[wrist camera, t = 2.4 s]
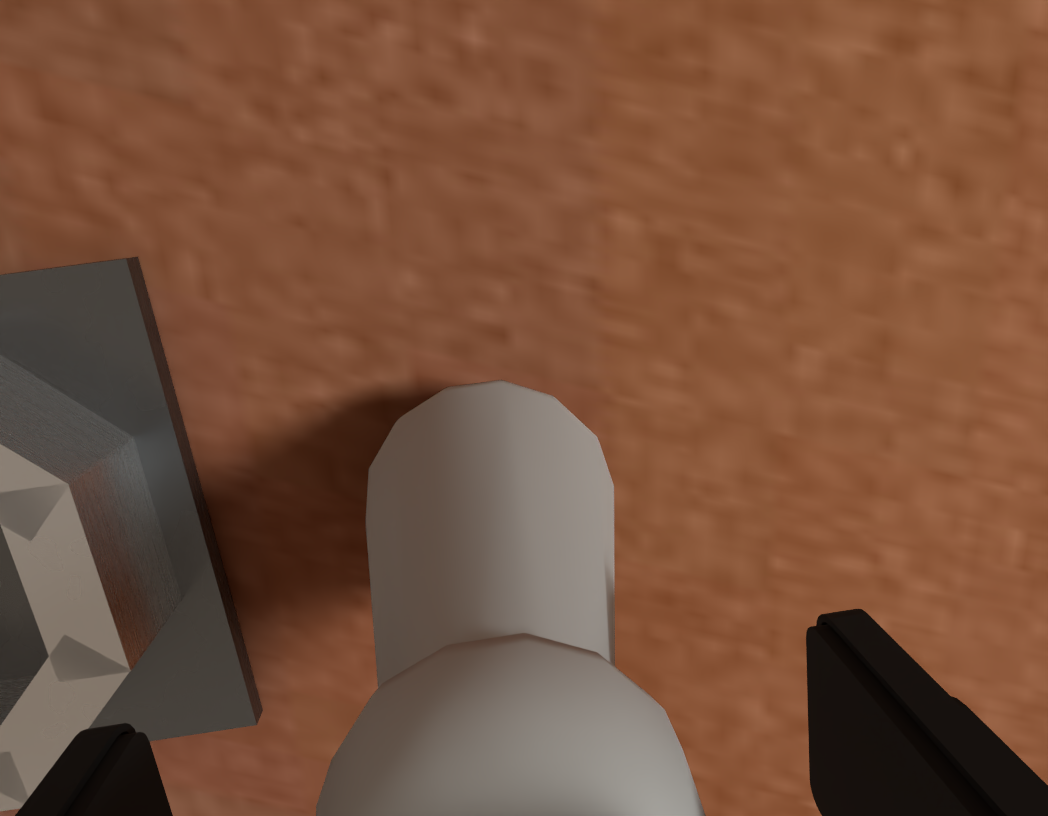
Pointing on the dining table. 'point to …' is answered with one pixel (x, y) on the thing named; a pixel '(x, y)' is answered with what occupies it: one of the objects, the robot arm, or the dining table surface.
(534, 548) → the grey peg
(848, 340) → the dining table surface
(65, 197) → the dining table surface
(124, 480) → the ring collar
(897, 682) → the robot arm
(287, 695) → the dining table surface
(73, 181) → the dining table surface
